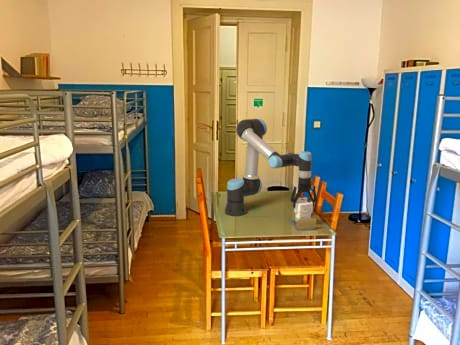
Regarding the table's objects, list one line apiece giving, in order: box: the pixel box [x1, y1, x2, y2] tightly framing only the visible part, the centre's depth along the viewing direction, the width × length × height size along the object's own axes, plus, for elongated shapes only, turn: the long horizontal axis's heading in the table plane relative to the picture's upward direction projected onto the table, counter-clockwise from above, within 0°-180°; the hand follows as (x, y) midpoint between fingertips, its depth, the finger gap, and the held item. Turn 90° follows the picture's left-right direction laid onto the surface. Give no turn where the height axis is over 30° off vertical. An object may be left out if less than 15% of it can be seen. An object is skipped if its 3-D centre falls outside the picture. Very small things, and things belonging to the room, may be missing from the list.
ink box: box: [294, 196, 312, 221], centre depth 250 cm, size 9×5×15 cm, turn 113°
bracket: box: [288, 217, 317, 231], centre depth 253 cm, size 12×18×7 cm, turn 9°
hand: (303, 212), depth 250 cm, fingers closed on ink box, 9 cm apart
